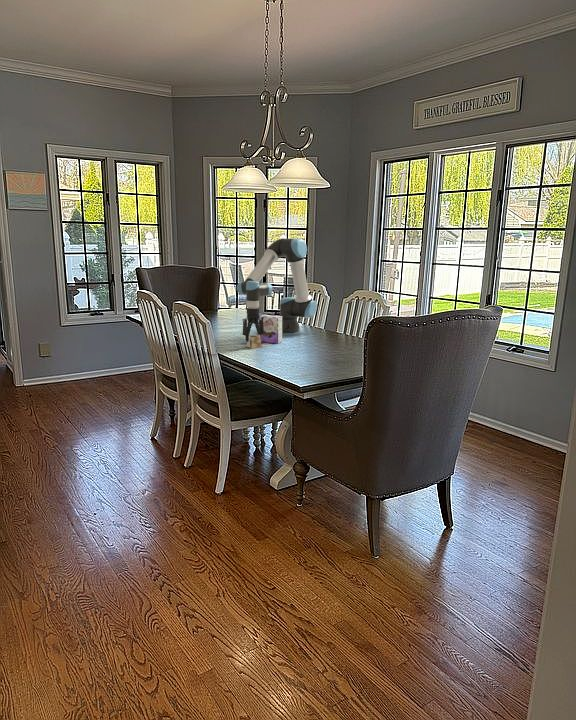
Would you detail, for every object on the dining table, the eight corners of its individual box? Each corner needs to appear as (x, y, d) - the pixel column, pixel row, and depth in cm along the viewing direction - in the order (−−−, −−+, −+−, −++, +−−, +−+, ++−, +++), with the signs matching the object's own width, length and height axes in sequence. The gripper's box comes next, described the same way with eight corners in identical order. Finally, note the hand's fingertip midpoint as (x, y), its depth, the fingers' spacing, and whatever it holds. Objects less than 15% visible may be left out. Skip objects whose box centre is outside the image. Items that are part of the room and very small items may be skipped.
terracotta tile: (255, 345, 321) (255, 344, 321) (261, 347, 316) (261, 346, 316) (245, 346, 317) (245, 346, 317) (252, 348, 312) (252, 348, 312)
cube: (255, 344, 320) (254, 334, 319) (260, 346, 316) (260, 336, 314) (246, 346, 317) (246, 336, 315) (252, 348, 312) (251, 337, 311)
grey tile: (266, 343, 326) (266, 342, 326) (272, 345, 321) (272, 344, 321) (256, 345, 322) (256, 344, 322) (263, 347, 316) (263, 346, 316)
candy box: (258, 341, 331) (258, 315, 327) (263, 340, 336) (263, 314, 332) (278, 344, 325) (277, 317, 321) (282, 342, 330) (282, 316, 326)
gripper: (262, 305, 320) (263, 343, 325) (235, 308, 308) (236, 347, 313) (270, 306, 314) (270, 345, 319) (242, 309, 302) (243, 349, 308)
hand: (253, 346), depth 316 cm, fingers open, 6 cm apart
